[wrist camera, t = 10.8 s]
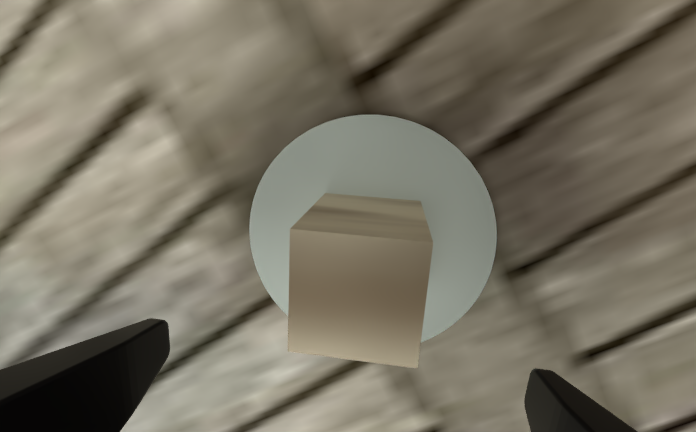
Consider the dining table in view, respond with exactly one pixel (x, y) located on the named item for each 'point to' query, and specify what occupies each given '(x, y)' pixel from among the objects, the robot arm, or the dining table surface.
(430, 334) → the dish
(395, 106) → the dining table surface
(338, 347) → the birch block
